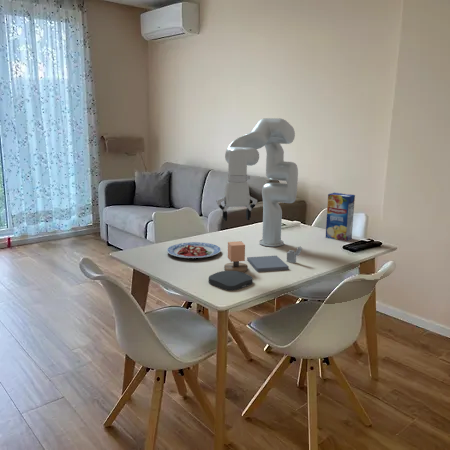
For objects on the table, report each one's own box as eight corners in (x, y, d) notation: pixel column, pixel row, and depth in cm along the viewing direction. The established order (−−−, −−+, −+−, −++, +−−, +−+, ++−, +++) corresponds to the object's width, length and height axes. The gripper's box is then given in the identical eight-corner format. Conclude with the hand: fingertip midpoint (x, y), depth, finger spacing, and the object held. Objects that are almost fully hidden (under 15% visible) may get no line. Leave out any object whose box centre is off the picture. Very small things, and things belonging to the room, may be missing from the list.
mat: (247, 260, 207) (247, 257, 206) (276, 258, 210) (276, 255, 209) (257, 271, 192) (257, 268, 191) (288, 269, 195) (288, 266, 194)
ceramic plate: (155, 256, 212) (155, 250, 211) (185, 243, 234) (185, 238, 233) (203, 265, 200) (203, 258, 200) (230, 250, 223) (230, 245, 222)
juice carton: (325, 237, 248) (327, 194, 243) (331, 234, 254) (334, 192, 248) (345, 241, 241) (349, 196, 235) (351, 238, 246) (355, 194, 241)
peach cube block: (227, 257, 196) (227, 241, 194) (241, 256, 197) (241, 241, 195) (230, 261, 190) (231, 245, 188) (244, 260, 191) (245, 244, 190)
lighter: (286, 261, 206) (287, 244, 204) (288, 260, 207) (289, 243, 206) (299, 264, 202) (300, 247, 200) (301, 263, 203) (302, 246, 201)
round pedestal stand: (222, 266, 198) (222, 243, 196) (244, 264, 200) (244, 242, 198) (227, 273, 189) (227, 249, 186) (250, 272, 191) (250, 248, 188)
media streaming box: (204, 283, 179) (204, 275, 178) (230, 274, 189) (230, 267, 188) (230, 293, 169) (230, 285, 168) (256, 283, 179) (256, 276, 178)
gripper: (255, 177, 191) (253, 217, 195) (214, 178, 187) (214, 218, 191) (260, 179, 184) (259, 221, 188) (218, 180, 180) (218, 222, 184)
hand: (236, 219), depth 189 cm, fingers open, 9 cm apart
